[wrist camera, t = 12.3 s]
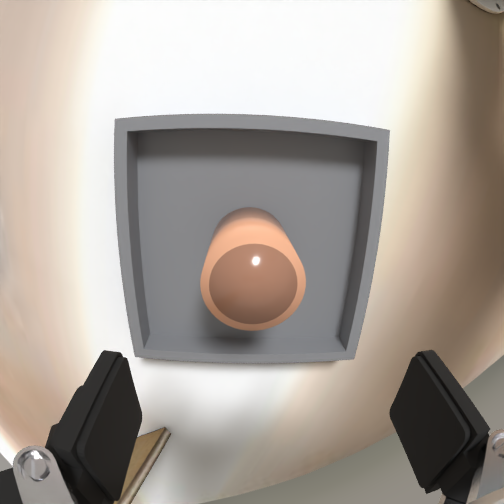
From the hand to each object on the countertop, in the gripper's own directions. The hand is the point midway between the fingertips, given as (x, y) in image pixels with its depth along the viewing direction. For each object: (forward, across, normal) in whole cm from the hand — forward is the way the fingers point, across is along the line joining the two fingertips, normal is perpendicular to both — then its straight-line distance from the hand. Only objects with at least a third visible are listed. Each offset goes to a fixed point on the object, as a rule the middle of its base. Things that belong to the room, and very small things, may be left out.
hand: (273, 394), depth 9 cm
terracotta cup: (+17, 0, +1) cm, 17 cm away
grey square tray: (+18, 0, +1) cm, 18 cm away
